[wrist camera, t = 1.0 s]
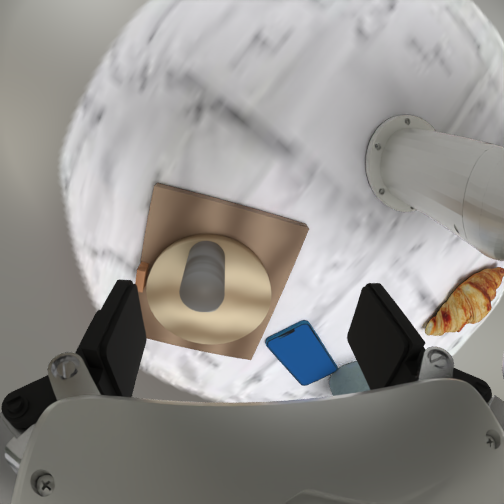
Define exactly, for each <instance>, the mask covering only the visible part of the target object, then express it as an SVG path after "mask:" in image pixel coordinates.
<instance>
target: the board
mask: <svg viewBox="0 0 504 504" xmlns="http://www.w3.org/2000/svg"><path fill="white" fill-rule="evenodd" d="M308 230H309V228H308V226H307V225H306V224H304V223H301V222H298V221H294V220H291V219H288V218H285V217H281V216H278V215H274V214H271V213H268V212H264V211H261V210H257V209H254V208H250V207H247V206H243V205H239V204H236V203H232V202H229V201H225V200H221V199H218V198H214V197H210V196H206V195H203V194H199V193H195V192H191V191H187V190H183V189H179V188H175V187H171V186H167V185H163V184H159V183H157V184H156V185H155V186H154V189H153V194H152V199H151V204H150V209H149V214H148V220H147V225H146V231H145V237H144V243H143V249H142V256H141V263H140V265H139V267H138V269H137V275H136V283H135V284H136V285H137V288H138V294H139V300H140V306H141V311H142V316H143V321H144V326H145V331H146V338H148V339H152V340H156V341H160V342H164V343H168V344H172V345H176V346H181V347H185V348H190V349H194V350H199V351H204V352H209V353H214V354H219V355H224V356H230V357H236V358H241V359H248V360H251V359H252V357H253V355H254V353H255V351H256V348H257V346H258V344H259V342H260V340H261V338H262V336H263V333H264V331H265V329H266V327H267V325H268V323H269V320H270V318H271V316H272V314H273V312H274V309H275V307H276V305H277V303H278V300H279V298H280V296H281V294H282V291H283V289H284V287H285V285H286V282H287V280H288V278H289V275H290V273H291V271H292V268H293V266H294V264H295V261H296V259H297V257H298V254H299V252H300V250H301V247H302V245H303V242H304V240H305V238H306V235H307V233H308ZM200 234H213V235H220V236H225V237H228V238H231V239H234V240H236V241H238V242H240V243H242V244H244V245H245V246H247V247H248V248H249V249H251V250H252V251H253V252H254V253H255V254H256V255H257V256H258V257H259V259H260V260H261V262H262V263H263V265H264V267H265V269H266V271H267V274H268V277H269V281H270V286H271V304H270V307H269V310H268V313H267V315H266V317H265V318H264V320H263V321H262V322H261V324H260V325H259V326H258V327H257V328H256V329H255V330H253V331H252V332H251V333H249V334H248V335H246V336H244V337H242V338H240V339H238V340H235V341H232V342H228V343H223V344H200V343H195V342H191V341H188V340H185V339H182V338H180V337H178V336H176V335H174V334H173V333H171V332H170V331H168V330H167V329H166V328H165V327H164V326H163V325H162V324H161V323H160V322H159V321H158V320H157V319H156V317H155V316H154V314H153V313H152V311H151V309H150V306H149V304H148V300H147V293H146V287H147V280H148V276H149V274H150V271H151V269H152V267H153V265H154V263H155V261H156V259H157V258H158V256H159V255H160V254H161V253H162V252H163V251H164V250H165V249H166V248H167V247H168V246H170V245H171V244H173V243H174V242H176V241H178V240H180V239H183V238H186V237H189V236H194V235H200Z"/></svg>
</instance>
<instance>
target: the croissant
mask: <svg viewBox="0 0 504 504" xmlns="http://www.w3.org/2000/svg"><path fill="white" fill-rule="evenodd" d="M503 276H504V269H503V268H501V267H497V268H495V269H484V270H482V271H481V272H479V273H475V274H473V275H472V276H471V277H469V278H468V279H467V280H466V281H464V282H463V283H462V284H460V285H459V286H458V287H457V288H456V289H455V291H454V292H453V293H452V294H451V296H450V297H449V298H448V301H447V302H446V303H444V304H443V305H442V306H441V308H440V310H439V311H438V312H437V315H436V316H435V317H433V318H432V319H431V320H430V321H429V323H428V324H427V326H426V329H425V333H426V334H427V335H435V336H438V335H439V336H441V335H443V334H444V333H445V332H456V331H457V332H460V331H461V329H462V328H463V327H464V325H465V324H468V323H471V324H474V323H477V322H479V321H481V320H482V319H483V318H484V317H485V316H486V315H487V314H488V312H489V311H490V310H491V308H492V307H491V301H492V300H493V299H494V298H495V296H496V289H497V288H498V287H499V286H500V284H501V282H502V278H503Z"/></svg>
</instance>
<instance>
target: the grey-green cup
mask: <svg viewBox="0 0 504 504" xmlns="http://www.w3.org/2000/svg"><path fill="white" fill-rule="evenodd" d="M329 385H330V389H331V392H332V394H333V396H336V395H344V394H350V393H357V392H363V391H369V390H370V388H369V386H368V384H367V381H366V379H365V377H364V375H363V373H362V370H361V368H360V366H359V364H358V362H352V363H349V364H346V365H344V366H342V367H340V368H339V369H338V370H337V371H336V372H334V373H333V374H332V376H331V378H330V381H329Z"/></svg>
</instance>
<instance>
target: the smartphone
mask: <svg viewBox="0 0 504 504" xmlns="http://www.w3.org/2000/svg"><path fill="white" fill-rule="evenodd" d="M266 346H267V347H268V348H269V350H270V351H271V352H272V353H273V354H274V355H275V356H276V357H277V359H278V360H279V361H280V362H281V363H282V364H283V365H284V366H285V368H286V369H287V370H288V371H289V372H290V373H291V374H292V375H293V376H294V378H295V379H296V380H297V381H298V382H299V383H300V384H301V385H303V386H306V385H309V384H311V383H313V382H315V381H317V380H320V379H322V378H324V377H326V376H328V375H330V374H332V373H334V372H336V371H337V369H338V367H337V365H336V364H335V362H334V361H333V359H332V357H331V356H330V354H329V353H328V351H327V350H326V348H325V346H324V345H323V343H322V342H321V340H320V338H319V337H318V335H317V334H316V332H315V331H314V329H313V328H312V326H311V324H310V323H309V322H308V321H306V320H303V321H300V322H298V323H296V324H294V325H292V326H290V327H288V328H286V329H284V330H282V331H280V332H278V333H276V334H274V335H272V336H270V337H268V338H267V339H266Z"/></svg>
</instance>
